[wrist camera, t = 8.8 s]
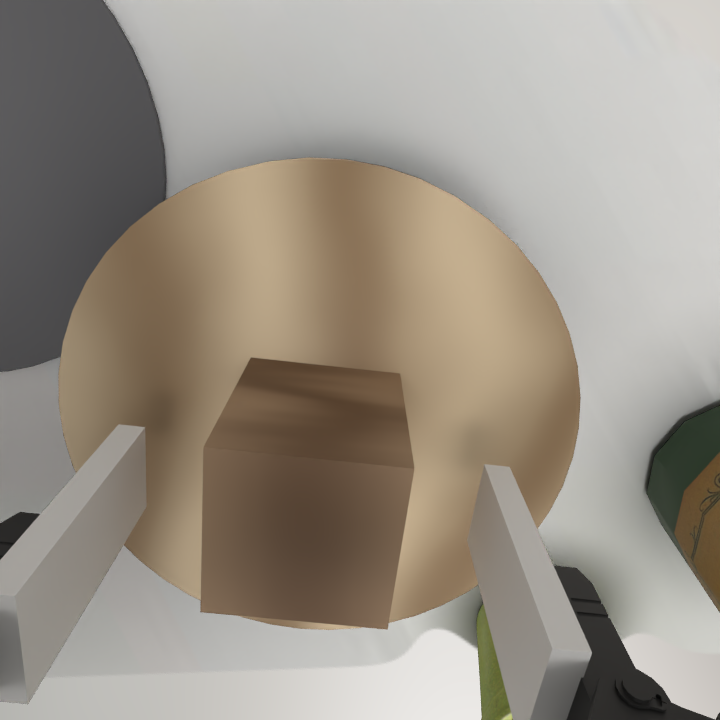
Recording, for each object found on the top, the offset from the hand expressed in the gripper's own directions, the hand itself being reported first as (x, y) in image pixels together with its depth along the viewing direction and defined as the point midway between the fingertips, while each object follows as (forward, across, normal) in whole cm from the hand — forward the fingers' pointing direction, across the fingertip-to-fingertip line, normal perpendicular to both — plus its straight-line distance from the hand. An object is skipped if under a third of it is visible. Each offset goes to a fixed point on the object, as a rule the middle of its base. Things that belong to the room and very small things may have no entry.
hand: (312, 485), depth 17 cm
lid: (+4, 0, 0) cm, 4 cm away
